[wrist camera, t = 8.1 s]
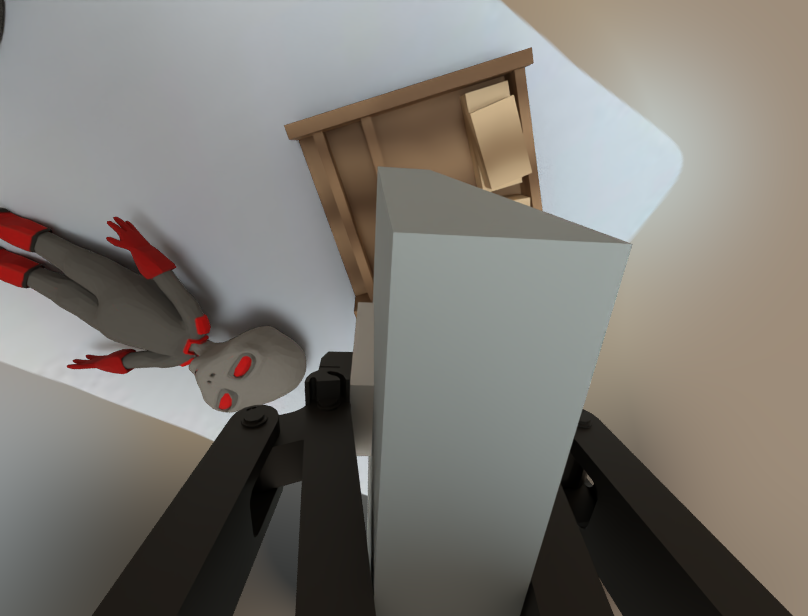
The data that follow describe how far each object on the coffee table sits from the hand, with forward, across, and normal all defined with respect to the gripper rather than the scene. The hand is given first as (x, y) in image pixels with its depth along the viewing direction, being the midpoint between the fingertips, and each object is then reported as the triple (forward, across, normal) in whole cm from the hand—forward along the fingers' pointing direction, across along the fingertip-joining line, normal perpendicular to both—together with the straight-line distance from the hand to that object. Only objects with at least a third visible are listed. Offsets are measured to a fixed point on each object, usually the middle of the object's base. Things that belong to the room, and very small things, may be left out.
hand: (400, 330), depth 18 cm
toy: (+21, -22, -8) cm, 32 cm away
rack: (+21, +4, +4) cm, 22 cm away
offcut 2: (+18, +8, +9) cm, 22 cm away
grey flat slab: (+4, 0, 0) cm, 4 cm away
